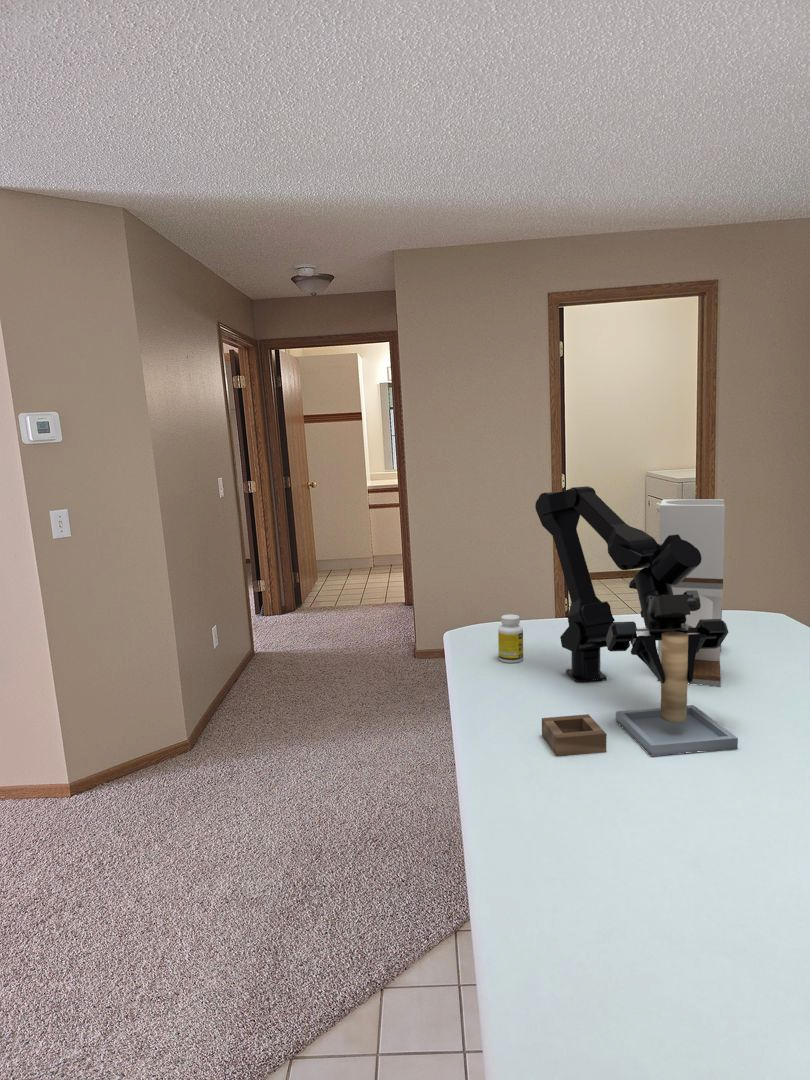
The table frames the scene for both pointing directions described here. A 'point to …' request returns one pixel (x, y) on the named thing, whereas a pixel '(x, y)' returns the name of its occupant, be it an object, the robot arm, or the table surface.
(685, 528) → the spiral staircase model
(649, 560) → the robot arm
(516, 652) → the supplement bottle
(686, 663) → the oak dowel
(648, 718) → the plastic tray
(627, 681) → the table surface
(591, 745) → the walnut holder
